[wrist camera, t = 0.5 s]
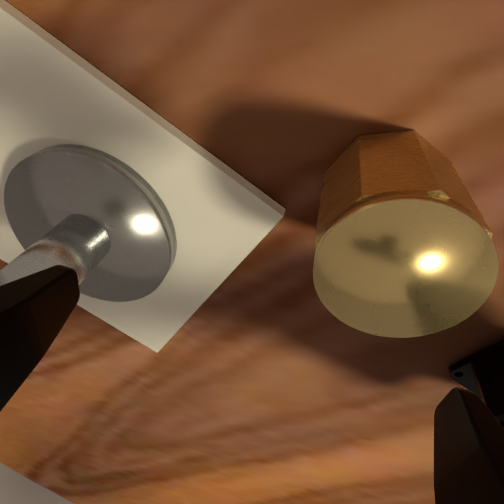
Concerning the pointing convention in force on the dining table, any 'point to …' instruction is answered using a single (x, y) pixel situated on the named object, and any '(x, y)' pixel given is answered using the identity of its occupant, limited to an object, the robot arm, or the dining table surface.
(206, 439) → the dining table surface
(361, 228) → the brown and gold cylinder
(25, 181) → the metal disc with knob
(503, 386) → the robot arm
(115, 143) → the board
